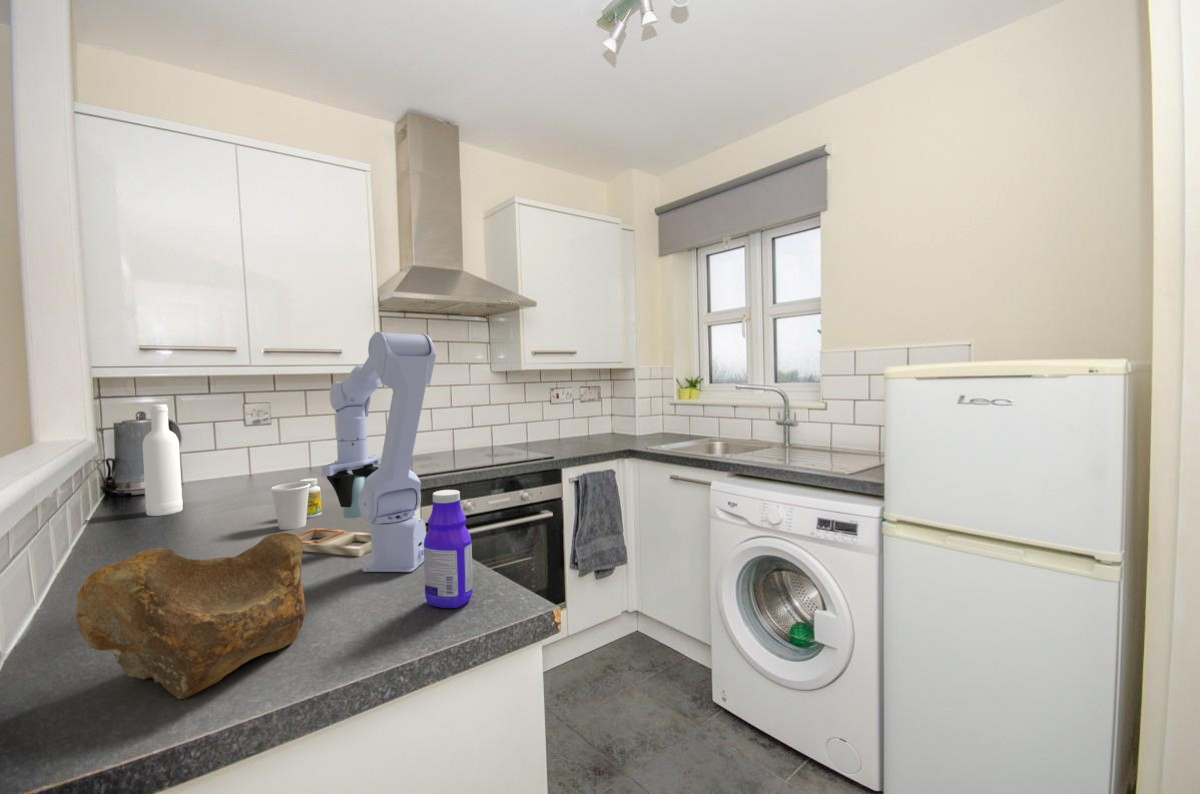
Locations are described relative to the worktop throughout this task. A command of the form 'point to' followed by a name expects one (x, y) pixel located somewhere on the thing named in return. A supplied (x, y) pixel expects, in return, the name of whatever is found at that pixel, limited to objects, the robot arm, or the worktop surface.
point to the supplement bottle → (313, 498)
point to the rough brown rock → (194, 611)
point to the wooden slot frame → (335, 541)
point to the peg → (355, 498)
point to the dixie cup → (291, 504)
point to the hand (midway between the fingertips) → (354, 503)
